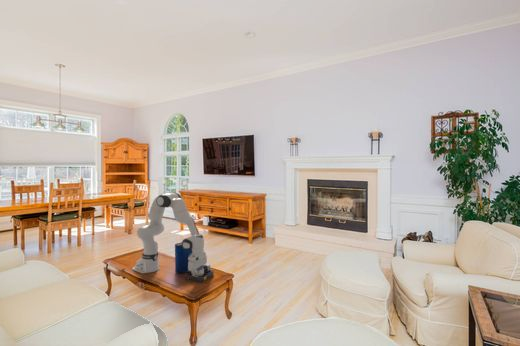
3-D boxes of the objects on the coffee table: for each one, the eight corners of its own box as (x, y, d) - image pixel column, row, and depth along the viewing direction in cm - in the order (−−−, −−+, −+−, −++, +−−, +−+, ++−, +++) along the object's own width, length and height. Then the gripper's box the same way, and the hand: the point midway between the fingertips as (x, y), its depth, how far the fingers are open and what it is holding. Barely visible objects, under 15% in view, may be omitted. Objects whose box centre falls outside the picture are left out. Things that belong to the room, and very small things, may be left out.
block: (191, 279, 206) (191, 268, 206) (194, 277, 210) (194, 266, 209) (201, 281, 203) (201, 270, 203) (203, 279, 206) (204, 268, 206)
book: (176, 275, 214) (176, 244, 213) (173, 272, 220) (174, 242, 219) (201, 269, 227) (201, 240, 226) (198, 266, 233) (198, 238, 232)
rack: (187, 280, 205) (188, 268, 205) (200, 272, 220) (200, 261, 220) (202, 283, 200) (202, 271, 200) (213, 275, 215) (213, 264, 215)
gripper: (202, 250, 217) (202, 267, 217) (186, 258, 198) (186, 276, 198) (208, 252, 214) (208, 268, 215) (193, 260, 195) (193, 278, 196)
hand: (197, 272), depth 206 cm, fingers open, 8 cm apart
